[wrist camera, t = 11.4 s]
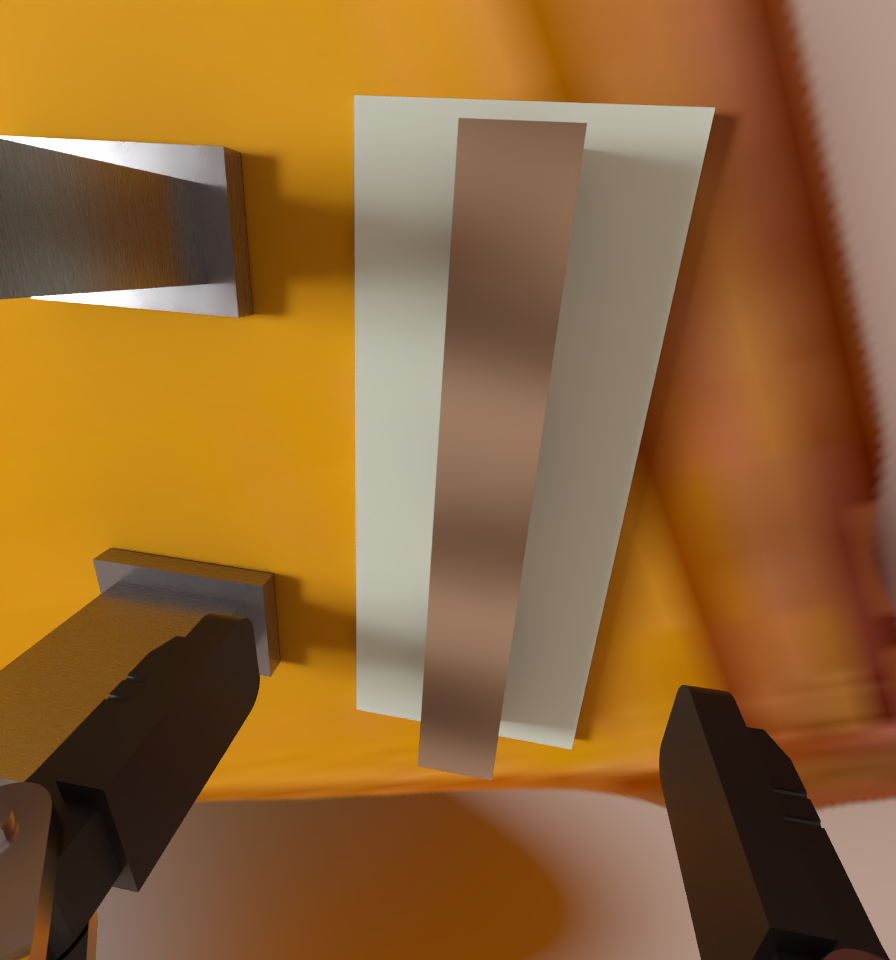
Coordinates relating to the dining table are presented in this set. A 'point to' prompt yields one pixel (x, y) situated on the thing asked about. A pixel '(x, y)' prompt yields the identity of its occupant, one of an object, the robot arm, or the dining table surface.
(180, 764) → the robot arm
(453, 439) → the walnut bar
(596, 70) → the dining table surface
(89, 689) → the forked posts
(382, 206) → the white flat slab
